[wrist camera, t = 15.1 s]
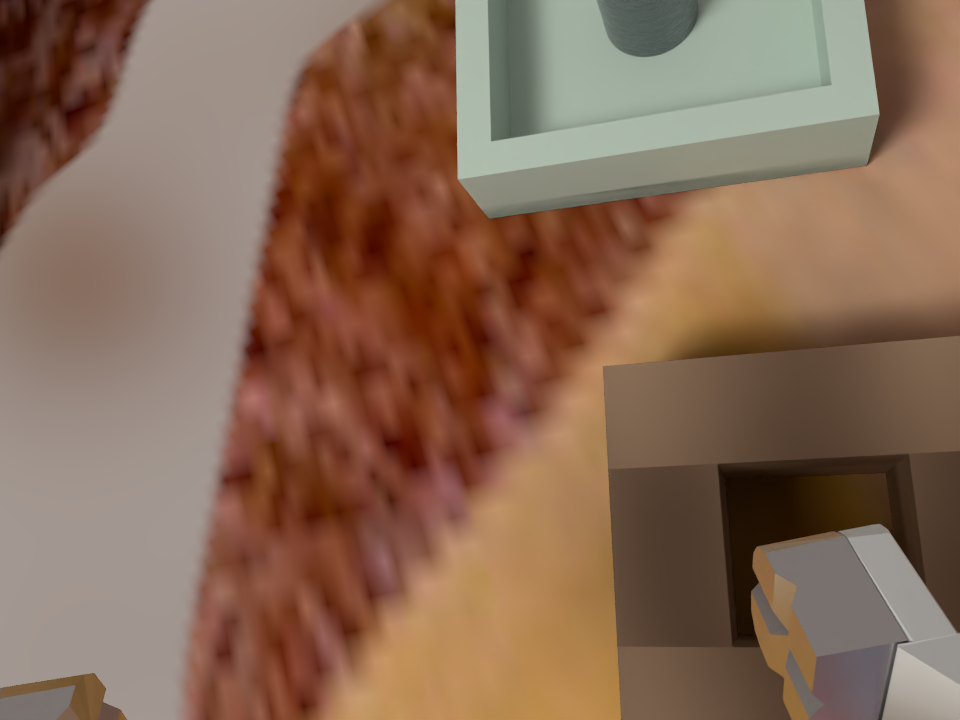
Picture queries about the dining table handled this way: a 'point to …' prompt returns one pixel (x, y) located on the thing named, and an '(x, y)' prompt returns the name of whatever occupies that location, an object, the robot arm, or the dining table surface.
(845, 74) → the tray
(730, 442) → the socket block
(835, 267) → the dining table surface
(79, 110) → the dining table surface
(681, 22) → the pin
